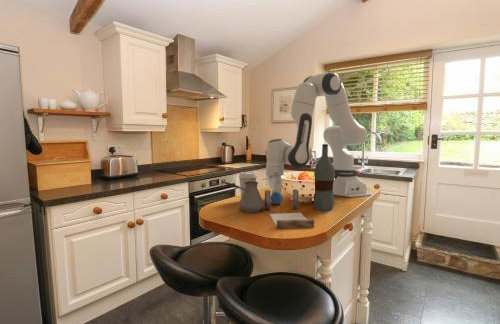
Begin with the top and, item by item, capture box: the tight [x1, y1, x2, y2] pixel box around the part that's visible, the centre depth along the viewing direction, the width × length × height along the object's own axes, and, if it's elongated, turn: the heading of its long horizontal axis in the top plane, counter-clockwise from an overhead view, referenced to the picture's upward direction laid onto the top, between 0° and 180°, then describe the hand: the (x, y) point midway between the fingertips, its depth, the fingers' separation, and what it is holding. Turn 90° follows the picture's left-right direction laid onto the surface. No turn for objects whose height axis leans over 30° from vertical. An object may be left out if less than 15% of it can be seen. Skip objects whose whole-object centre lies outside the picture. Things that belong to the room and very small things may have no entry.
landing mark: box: [269, 212, 307, 226], centre depth 117 cm, size 14×14×1 cm
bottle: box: [313, 143, 335, 212], centre depth 131 cm, size 9×9×30 cm
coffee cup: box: [238, 171, 258, 198], centre depth 144 cm, size 10×10×15 cm
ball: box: [270, 193, 284, 205], centre depth 140 cm, size 6×6×6 cm
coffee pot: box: [221, 181, 265, 213], centre depth 126 cm, size 21×12×15 cm, turn 131°
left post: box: [264, 189, 272, 212], centre depth 130 cm, size 3×3×9 cm
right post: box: [292, 188, 299, 211], centre depth 131 cm, size 3×3×9 cm
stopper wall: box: [276, 218, 315, 230], centre depth 107 cm, size 14×2×2 cm, turn 96°
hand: (274, 198), depth 144 cm, fingers closed
